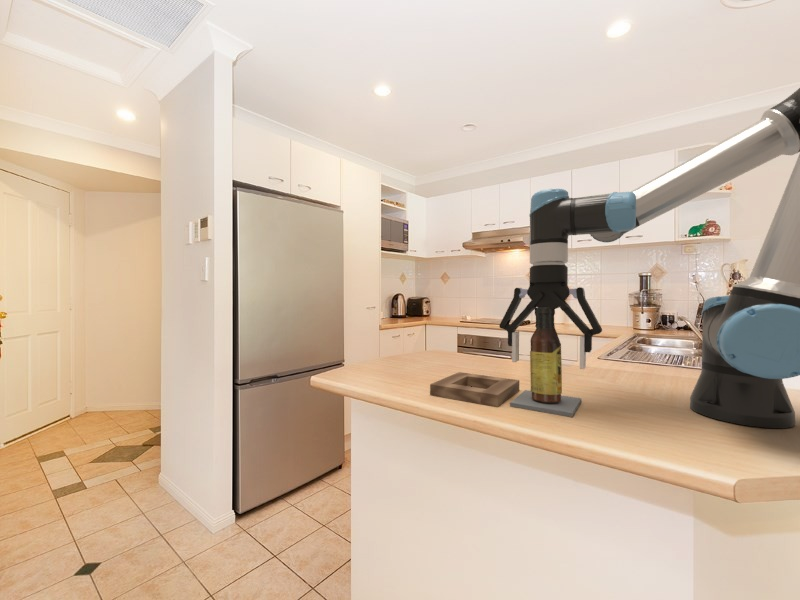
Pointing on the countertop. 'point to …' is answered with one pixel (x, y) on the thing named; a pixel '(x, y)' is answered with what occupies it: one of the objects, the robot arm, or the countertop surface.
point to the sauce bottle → (545, 359)
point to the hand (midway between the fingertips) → (547, 364)
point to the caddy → (459, 388)
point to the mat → (547, 404)
